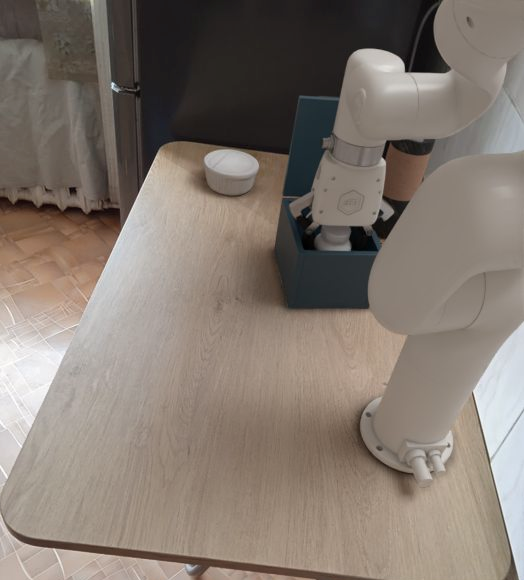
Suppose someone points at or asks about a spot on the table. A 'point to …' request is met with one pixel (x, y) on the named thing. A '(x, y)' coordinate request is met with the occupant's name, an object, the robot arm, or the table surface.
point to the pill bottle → (333, 238)
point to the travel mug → (403, 176)
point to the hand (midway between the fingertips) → (332, 250)
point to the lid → (308, 142)
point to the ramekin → (230, 171)
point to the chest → (321, 267)
